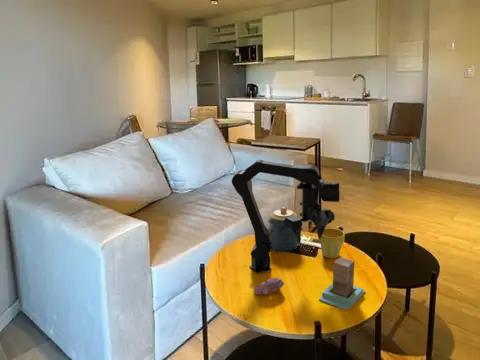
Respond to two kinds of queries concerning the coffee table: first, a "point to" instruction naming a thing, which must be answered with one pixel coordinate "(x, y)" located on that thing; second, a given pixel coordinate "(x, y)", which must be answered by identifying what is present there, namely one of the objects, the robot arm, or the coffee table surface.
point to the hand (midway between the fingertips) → (309, 240)
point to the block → (343, 277)
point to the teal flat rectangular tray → (339, 300)
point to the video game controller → (269, 286)
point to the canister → (282, 231)
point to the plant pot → (331, 242)
